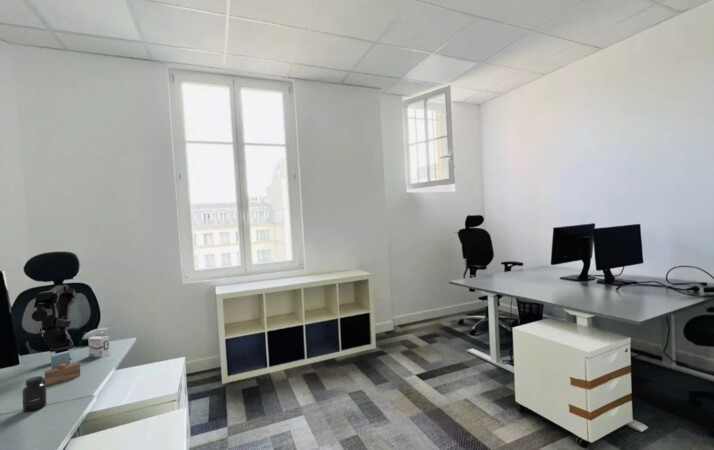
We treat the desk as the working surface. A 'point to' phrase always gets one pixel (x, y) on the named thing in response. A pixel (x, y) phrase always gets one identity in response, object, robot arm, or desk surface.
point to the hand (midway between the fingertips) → (50, 346)
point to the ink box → (99, 344)
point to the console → (61, 373)
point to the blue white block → (60, 359)
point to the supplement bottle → (34, 394)
